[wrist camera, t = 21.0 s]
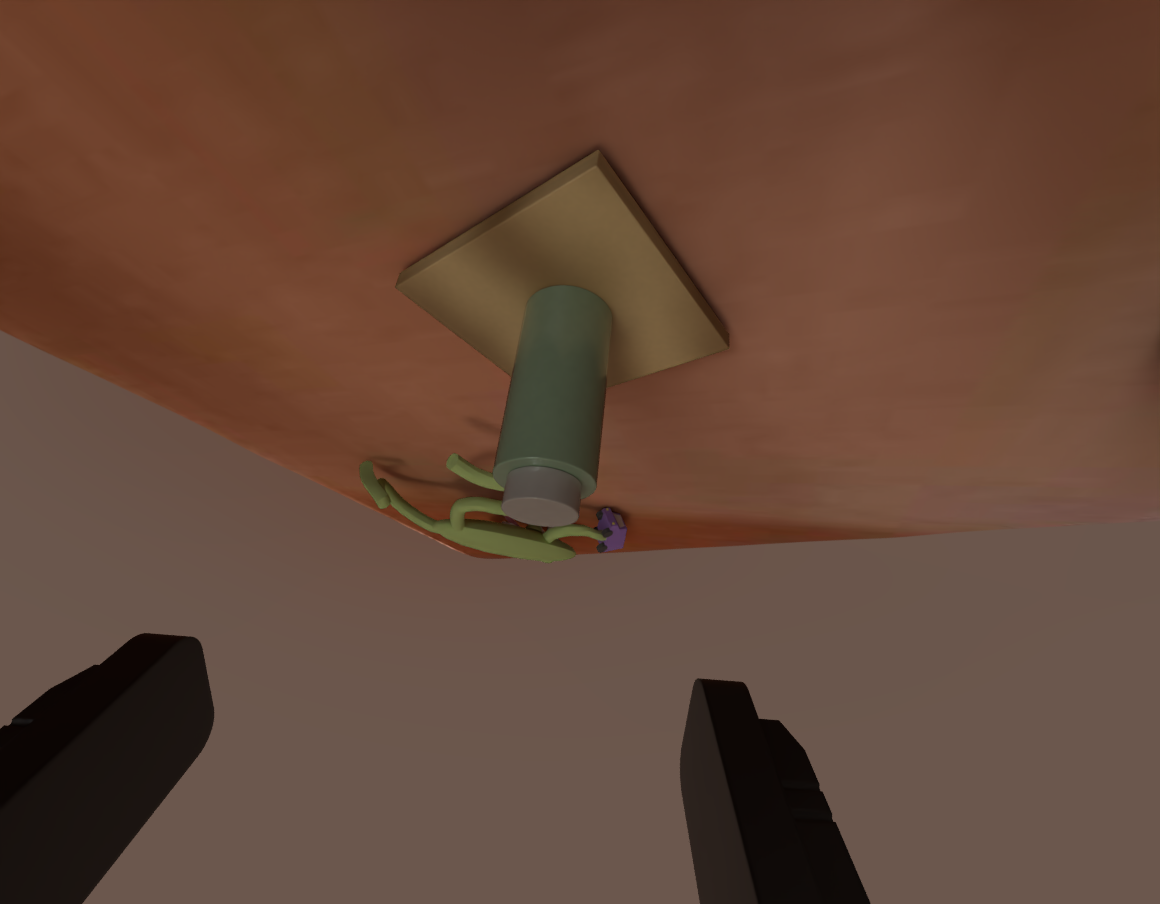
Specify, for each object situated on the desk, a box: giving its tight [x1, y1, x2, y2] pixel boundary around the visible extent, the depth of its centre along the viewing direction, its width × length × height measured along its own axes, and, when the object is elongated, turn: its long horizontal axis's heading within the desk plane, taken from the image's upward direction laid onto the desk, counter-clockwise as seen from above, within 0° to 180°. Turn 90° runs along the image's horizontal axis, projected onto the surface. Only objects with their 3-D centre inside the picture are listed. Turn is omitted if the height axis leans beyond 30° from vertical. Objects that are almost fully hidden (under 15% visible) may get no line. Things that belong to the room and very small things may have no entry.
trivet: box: [395, 150, 729, 388], centre depth 28 cm, size 12×12×1 cm
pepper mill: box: [492, 285, 613, 527], centre depth 25 cm, size 4×4×10 cm
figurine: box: [359, 453, 627, 563], centre depth 51 cm, size 18×27×6 cm
